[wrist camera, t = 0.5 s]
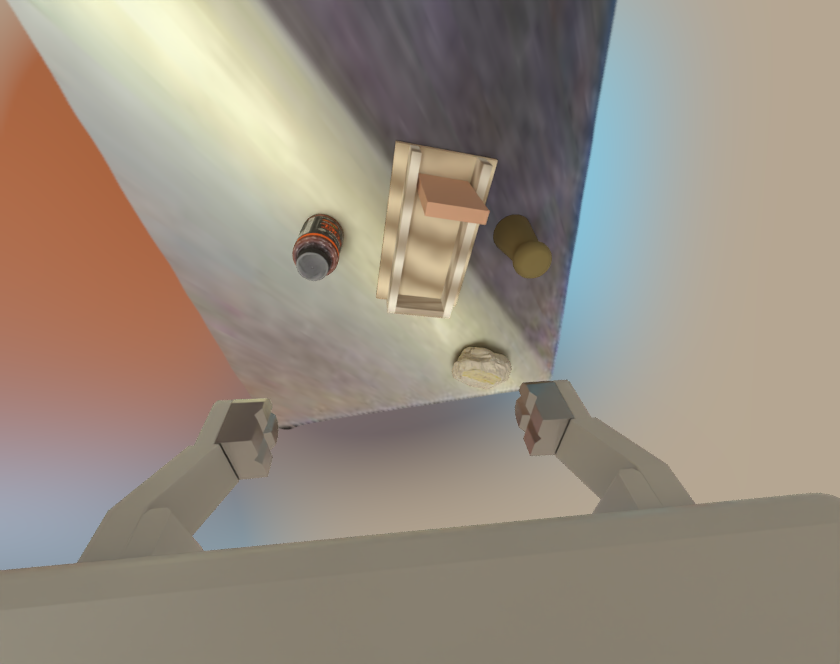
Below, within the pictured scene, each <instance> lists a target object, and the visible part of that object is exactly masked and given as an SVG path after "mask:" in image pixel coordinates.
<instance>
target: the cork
mask: <svg viewBox="0 0 840 664" xmlns="http://www.w3.org/2000/svg"><path fill="white" fill-rule="evenodd" d="M493 239H494V243H495V244H496V246H497V247H498V248H499V249H500V250H501V251H502V252H504V253H505V254H506V255H507V256H508V257H509V258H510V259H511V260H512V261H513V267H514V269H515V270H516V272H517V273H518V274H519V275H520V276H522V277H524V278H536V277H539V276H541V275H543V274H544V273H545V272H546V271H547V270H548V268H549V267H550V264H551V261H552V255H551V252H550V250H549V248H548V247H547V246H546V245H545V244H544V243H542V242H539V241H538V239H537V237H536V235H535V233H534V231H533V229H532V227H531V225H530V223H529V221H528V220H527V219H526V218H525V217H524V216H521V215H510V216H507V217H505V218H504V219H502V220H501V221H500V222H499V223H498V224H497V226H496V228H495V230H494V234H493Z"/></svg>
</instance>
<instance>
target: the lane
mask: <svg viewBox="0 0 840 664" xmlns="http://www.w3.org/2000/svg"><path fill="white" fill-rule="evenodd" d="M497 162H498V161H497V160H496V159H492V158H487V157H481V156H476V155H471V154H465V153H460V152H455V151H449V150H444V149H438V148H433V147H428V146H422V145H417V144H412V143H406V142H401V141H396V143H395V151H394V159H393V167H392V175H391V183H390V191H389V198H388V206H387V214H386V222H385V230H384V238H383V246H382V254H381V262H380V270H379V277H378V285H377V293H376V298H379V299H387V313H396V314H407V315H417V316H428V317H439V318H450V315H451V311H452V308H453V306H456V303H457V300H458V296H459V293H460V289H461V286H462V283H463V279H464V276H465V272H466V269H467V265H468V262H469V258H470V255H471V251H472V248H473V245H474V241H475V238H476V234H477V231H478V227H479V224H476V223H469V222H462V221H456V220H449V219H442V218H435V217H429V216H425V214H424V211H423V208H422V204H421V201H420V198H419V194H418V191H417V188H416V185H417V179H418V173H421V174H427V175H433V176H439V177H445V178H451V179H457V180H462V181H468V182H469V183H470V185H471V186H472V187H473V189H474V190H475V192H476V193H477V194H478V196H479V197H480V199H481V200H482V201H483V203H484V204H485V203H486V200H487V196H488V193H489V189H490V186H491V182H492V179H493V175H494V172H495V169H496V165H497Z"/></svg>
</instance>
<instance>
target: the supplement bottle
mask: <svg viewBox="0 0 840 664" xmlns="http://www.w3.org/2000/svg"><path fill="white" fill-rule="evenodd" d="M342 241H343V232H342V228H341V226H340V225H339V223H338V222H337V221H336V220H335V219H333V218H332V217H330V216H327V215H322V214H319V215H314V216H312V217H310V218H309V219H307V221H306V222H305V224H304V225H303V227H302V230H301V232H300V234H299V236H298V239H297V241H296V243H295V245H294V248H293V260H294V263H295V265H296V268H297V270H298V272H299V274H300V275H301V276H302V277H304V278H306V279H308V280H312V281H317V280H321V279H323V278H324V277H325V276H327V275H329V274H330V273H332V272H333V271H334V270H335V268H336V266H337V264H338V260H339V256H340V251H341V246H342Z"/></svg>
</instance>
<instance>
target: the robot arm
mask: <svg viewBox="0 0 840 664" xmlns="http://www.w3.org/2000/svg"><path fill="white" fill-rule="evenodd" d="M519 392H520V394H521V397H519V398H518V399H517V400H516V405H515V415H516V420H517V423H518V426H519V428H520V429H522V430H523V431H524V432H525V435H524V438H523V439H524V441H525V444H526V446H527V449H528V451H529V454H530V456H540V455H555V456H556V457H557V458H558V459H559V460H560V461H561V462H562V463H563V464H565V466H566V467H567V468H568V469H570V470H571V471H572V472H573V473H574V474H575V475H576V476H577V477H578V478H579V479H580V480H581V481H582V482H583V483H584V484H585V485H586V486H587V487H589V489H591V490H592V491H593V492H594V493H595V494H596V495H597V496H598V497H599V498H600V499H601V500H600V502H599V503H598V505H597V507H596V508H595V510H594V511H593V513H592V514H587V515H577V516H566V517H557V518H546V519H535V520H525V521H514V522H503V523H493V524H483V525H472V526H461V527H450V528H440V529H430V530H419V531H408V532H399V533H388V534H377V535H367V536H357V537H346V538H335V539H326V540H314V541H304V542H294V543H283V544H273V545H262V546H252V547H241V548H231V549H221V550H210V551H203V549H202V547H201V546H200V545H199V544H198V543H197V541H196V540H195V539H194V538H193V537H192V535H193V534H194V533H195V532H196V531H197V530H198V529H199V527H200V526H201V525H202V524H203V523H204V522H205V520H206V519H207V518H208V517H209V516H210V515H211V513H212V512H213V511H214V510H215V509H216V507H217V506H218V505H219V504H220V503H221V502H222V501H223V499H224V498H225V497H226V496H227V495H228V494H229V492H230V491H231V490H232V489H233V488H234V486H235V485H236V484H237V483H238V482H239V480H241V479H251V478H260V477H268V473H269V469H270V466H271V462H272V458H273V457H272V454H271V452H270V450H271V449H272V448H273V447H274V446H275V445H276V442H277V438H278V420H277V417H276V415H274V414H273V413H271V410H272V403H271V401H270V399H267V398H265V399H238V400H218V401H217V402H216V403H215V404H214V405H213V406H212V409H211V411H210V413H209V415H208V417H207V419H206V421H205V423H204V426H203V427H202V430H201V432H200V434H199V436H198V438H197V440H196V442H195V444H194V446H188V447H187V448H186V449H184V450H183V451H182V452H181V453H180V454H178V455H177V456H176V457H175V458H173V459H172V460H171V461H169V462H168V463H167V464H166V465H164V466H163V467H162V468H161V469H159V470H158V471H157V472H156V473H155V474H153V475H152V476H151V477H150V478H148V479H147V480H146V481H145V482H143V484H141V485H140V486H138V487H137V488H136V489H135V490H133V491H132V492H131V493H130V494H128V495H127V496H126V497H125V498H123V499H122V500H121V501H120V502H119V503H117V504H116V505H115V506H113V507H112V508H111V509H110V510H108V512H107V513H106V515H105V517H104V519H103V520H102V522H101V523H100V525H99V527H98V528H97V530H96V532H95V534H94V535H93V537H92V538H91V540H90V542H89V544H88V545H87V547H86V549H85V550H84V552H83V554H82V555H81V557H80V559H79V560H78V562H77V563H74V564H63V565H52V566H42V567H31V568H21V569H11V570H10V569H9V570H0V664H840V498H838V497H835V496H833V495H829V494H823V493H806V494H796V495H786V496H775V497H766V498H754V499H744V500H734V501H724V502H713V503H703V504H695V502H694V501H693V500H692V498H691V497H690V495H689V494H688V493H687V491H686V490H685V489H684V487H683V486H682V484H681V483H680V482H679V480H678V479H677V477H676V476H675V474H674V473H673V472H672V470H671V469H670V467H669V466H668V465H667V464H666V463H664V462H663V461H661V460H660V459H658V458H657V457H655V456H654V455H652V454H651V453H649V452H648V451H646V450H645V449H643V448H641V447H640V446H638V445H637V444H635V443H634V442H632V441H631V440H629V439H628V438H626V437H625V436H623V435H622V434H620V433H619V432H617V431H615V430H614V429H613V428H611V427H610V426H608V425H607V424H605V423H604V422H602V421H601V420H599V419H598V418H596V417H595V418H591V416H590V414H589V413H588V411H587V409H586V408H585V406H584V404H583V403H582V401H581V400H580V398H579V397H578V395H577V393H576V392H575V390H574V388H573V387H572V385H571V383H570V382H569V381H568V380H557V381H540V382H526V383H522V384H521V386H520V389H519Z"/></svg>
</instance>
